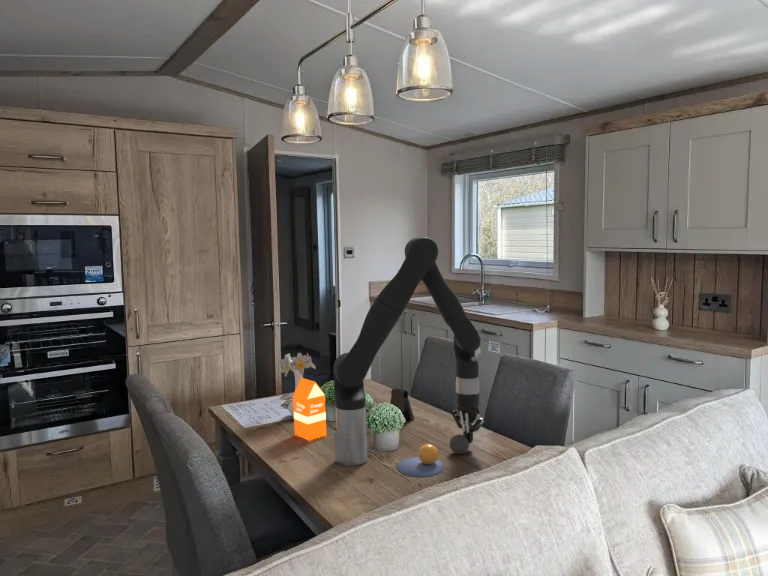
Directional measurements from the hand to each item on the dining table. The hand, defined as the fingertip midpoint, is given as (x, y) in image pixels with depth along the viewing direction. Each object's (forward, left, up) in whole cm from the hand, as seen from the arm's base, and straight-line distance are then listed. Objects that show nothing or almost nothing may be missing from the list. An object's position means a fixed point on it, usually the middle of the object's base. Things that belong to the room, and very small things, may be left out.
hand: (468, 442), depth 179 cm
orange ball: (-18, 0, +1) cm, 18 cm away
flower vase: (-23, +68, -2) cm, 72 cm away
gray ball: (-5, -1, +1) cm, 5 cm away
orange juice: (-31, +46, -2) cm, 56 cm away
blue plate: (-21, 0, -2) cm, 21 cm away
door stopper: (+2, +36, -2) cm, 36 cm away
